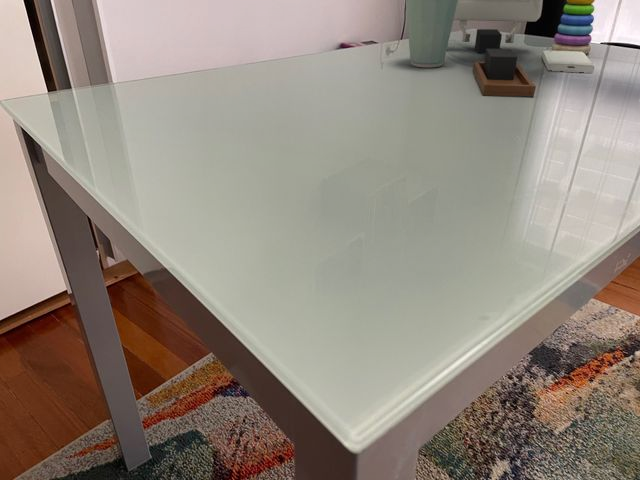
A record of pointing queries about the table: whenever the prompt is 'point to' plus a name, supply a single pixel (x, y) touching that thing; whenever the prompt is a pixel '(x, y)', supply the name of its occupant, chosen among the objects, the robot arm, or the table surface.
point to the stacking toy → (575, 27)
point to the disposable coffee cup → (429, 30)
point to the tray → (504, 83)
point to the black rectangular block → (500, 64)
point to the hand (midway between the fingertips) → (487, 42)
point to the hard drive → (567, 61)
